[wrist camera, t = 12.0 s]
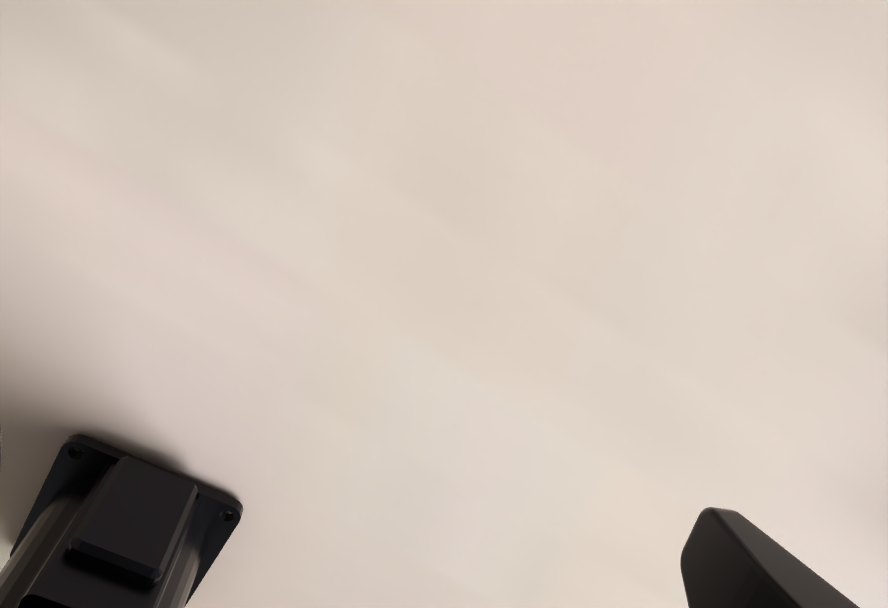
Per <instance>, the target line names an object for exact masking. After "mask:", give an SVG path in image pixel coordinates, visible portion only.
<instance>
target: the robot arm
mask: <svg viewBox="0 0 888 608" xmlns="http://www.w3.org/2000/svg"><path fill="white" fill-rule="evenodd" d="M74 447H76V448H79V449H81V450H82V451H83V452H79V451H77V450H76V449H75V448H74ZM2 460H3V455H2V442H1V428H0V470H1V467H2ZM224 511H230V512H231V513H232V514H228V513H225V512H224ZM242 512H243V506H242V504H241V503H240V502H239V501H237V500H236V499H234V498H232V497H229V496H227V495H224V494H222V493H220V492H217V491H215V490H213V489H210V488H208V487H206V486H203V485H201V484H199V483H196V482H194V481H191V480H189V479H187V478H184V477H182V476H180V475H177V474H175V473H173V472H170V471H168V470H166V469H163V468H161V467H158V466H156V465H154V464H151V463H149V462H147V461H144V460H142V459H140V458H137V457H135V456H133V455H130V454H128V453H125V452H123V451H121V450H118V449H116V448H114V447H111V446H109V445H107V444H104V443H102V442H100V441H97V440H95V439H92V438H90V437H88V436H85V435H81V434H76V435H72V436H70V437H69V438H68V439H67V440H66V442H65V443H64V444H63V446H62V447H61V449H60V451H59V453H58V455H57V457H56V459H55V462H54V464H53V466H52V468H51V470H50V472H49V474H48V476H47V478H46V480H45V482H44V484H43V487H42V489H41V491H40V493H39V495H38V497H37V499H36V501H35V503H34V505H33V507H32V510H31V512H30V514H29V516H28V518H27V520H26V522H25V524H24V526H23V528H22V530H21V532H20V535H19V537H18V539H17V541H16V543H15V545H14V547H13V549H12V551H11V553H10V559H9V561H8V562H7V563H6V565H5V566H4V568H3V569H2V571H1V572H0V608H184V607H185V606H186V604H187V603H188V601H189V599H190V598H191V596H192V595H193V593H194V592H195V590H196V589H197V587H198V585H199V584H200V582H201V581H202V579H203V578H204V576H205V574H206V573H207V571H208V570H209V568H210V567H211V565H212V564H213V562H214V560H215V559H216V557H217V556H218V554H219V553H220V551H221V549H222V548H223V546H224V545H225V543H226V542H227V540H228V539H229V537H230V535H231V534H232V532H233V531H234V529H235V528H236V526H237V525H238V523H239V521H240V518H241V515H242ZM681 573H682V577H683V582H684V587H685V592H686V596H687V601H688V606H689V608H859V607H858V606H857V605H856V604H854V603H853V602H852V601H850V600H849V599H848V598H847V597H845V596H844V595H843V594H842V593H840V592H839V591H838V590H836V589H835V588H834V587H833V586H831V585H830V584H829V583H828V582H826V581H825V580H824V579H822V578H821V577H820V576H819V575H817V574H816V573H815V572H814V571H812V570H811V569H810V568H808V567H807V566H806V565H805V564H803V563H802V562H801V561H800V560H798V559H797V558H796V557H794V556H793V555H792V554H791V553H789V552H788V551H787V550H785V549H784V548H783V547H782V546H780V545H779V544H778V543H777V542H775V541H774V540H773V539H771V538H770V537H769V536H768V535H766V534H765V533H764V532H763V531H761V530H760V529H759V528H757V527H756V526H755V525H754V524H752V523H751V522H750V521H749V520H747V519H746V518H745V517H743V516H742V515H741V514H739V513H738V512H736V511H733V510H728V509H721V508H714V507H709V508H705V509H704V510H703V511H702V512H701V513H700V515H699V517H698V519H697V521H696V523H695V525H694V527H693V529H692V531H691V533H690V536H689V538H688V540H687V542H686V544H685V546H684V548H683V551H682V555H681Z"/></svg>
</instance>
